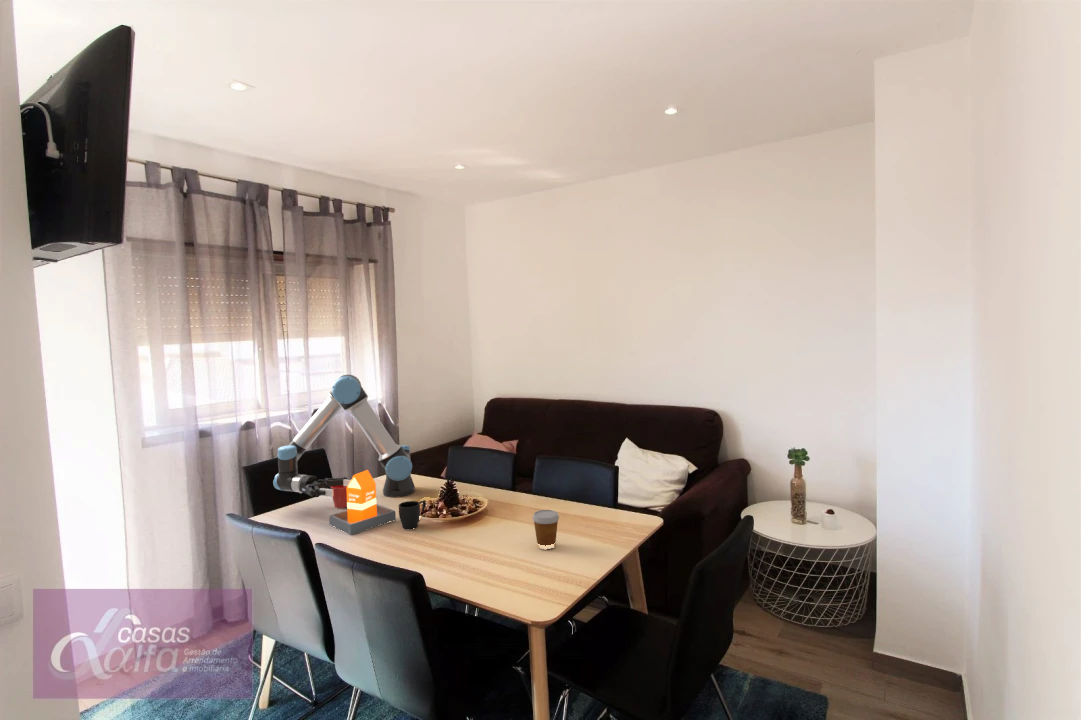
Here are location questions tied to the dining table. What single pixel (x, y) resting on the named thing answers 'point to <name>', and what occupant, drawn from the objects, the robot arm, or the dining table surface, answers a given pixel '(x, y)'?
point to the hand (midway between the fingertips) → (344, 488)
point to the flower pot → (340, 496)
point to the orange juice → (361, 497)
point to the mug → (410, 513)
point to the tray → (351, 528)
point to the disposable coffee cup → (545, 526)
